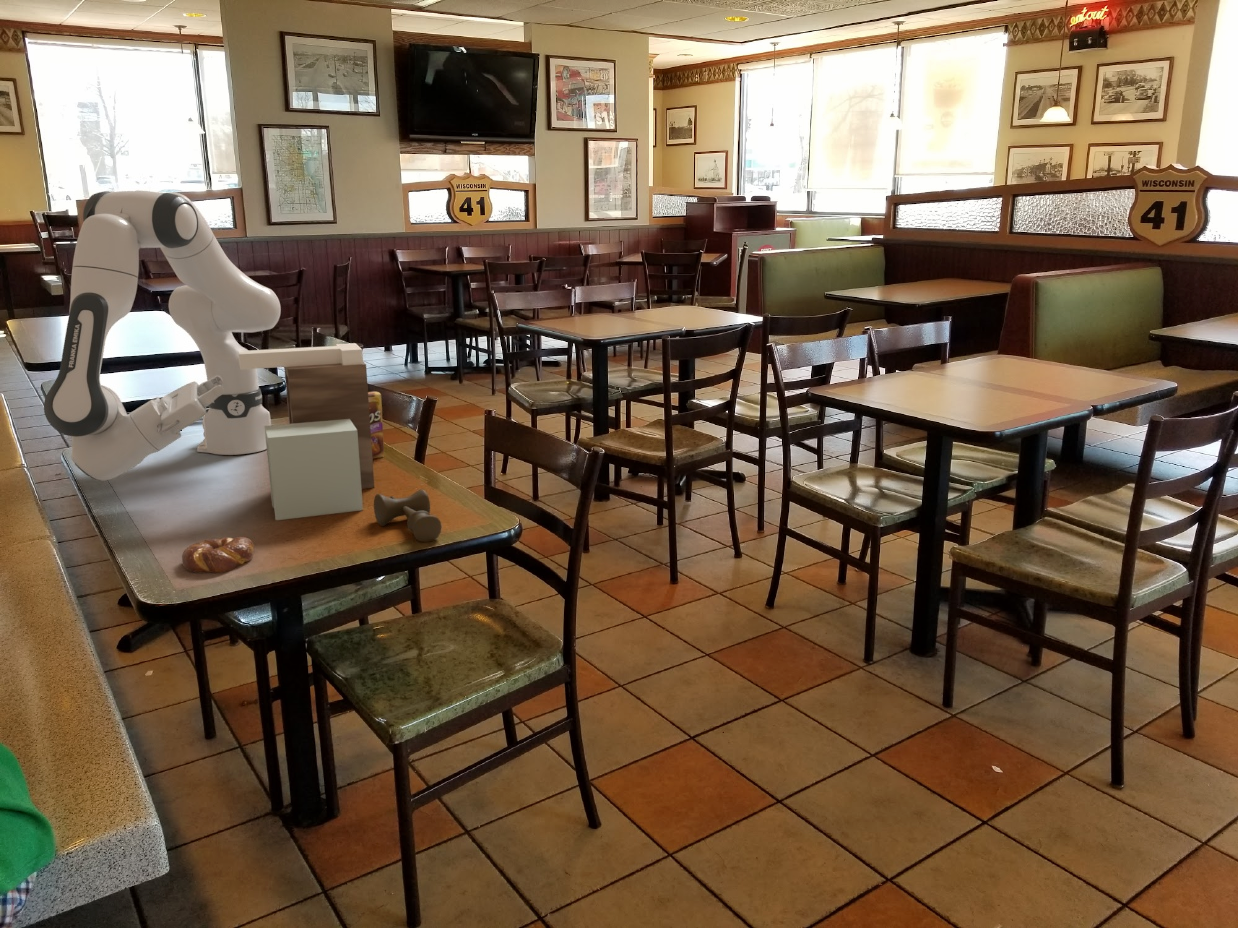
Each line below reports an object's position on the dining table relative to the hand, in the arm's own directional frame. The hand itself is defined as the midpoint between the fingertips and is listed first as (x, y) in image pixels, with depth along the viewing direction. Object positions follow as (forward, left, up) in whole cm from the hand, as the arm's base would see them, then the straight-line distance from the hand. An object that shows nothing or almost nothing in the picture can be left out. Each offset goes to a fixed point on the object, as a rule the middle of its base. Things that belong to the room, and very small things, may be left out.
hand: (221, 383), depth 185 cm
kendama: (+31, +29, -24) cm, 49 cm away
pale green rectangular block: (+14, +15, -23) cm, 31 cm away
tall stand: (0, +20, -23) cm, 30 cm away
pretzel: (+37, -3, -24) cm, 44 cm away
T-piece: (0, +15, +3) cm, 15 cm away
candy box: (-19, +29, -23) cm, 42 cm away
